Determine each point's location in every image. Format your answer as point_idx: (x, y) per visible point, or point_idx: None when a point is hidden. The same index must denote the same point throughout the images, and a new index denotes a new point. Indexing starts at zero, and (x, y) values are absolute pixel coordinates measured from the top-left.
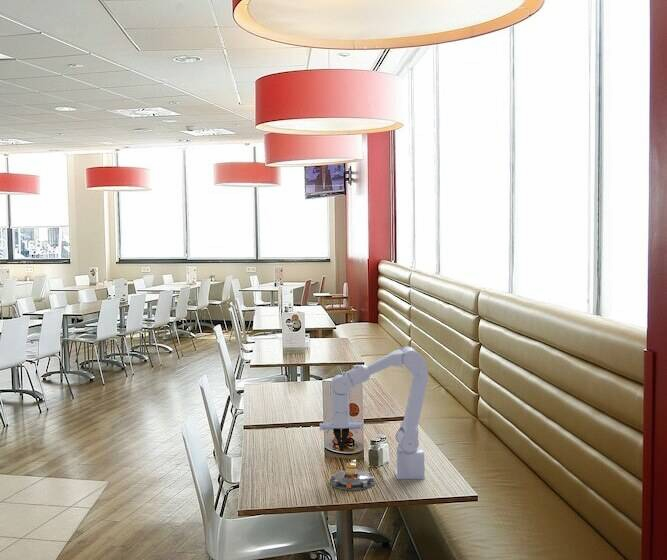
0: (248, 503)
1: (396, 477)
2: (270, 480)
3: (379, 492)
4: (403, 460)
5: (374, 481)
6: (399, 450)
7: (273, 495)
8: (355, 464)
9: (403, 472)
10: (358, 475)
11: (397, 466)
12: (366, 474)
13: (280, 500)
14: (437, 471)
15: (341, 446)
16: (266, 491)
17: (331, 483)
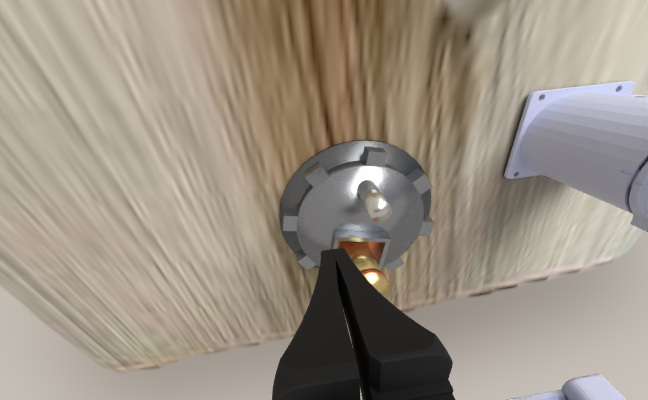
0: (101, 354)
1: (507, 164)
2: (40, 216)
3: (424, 267)
4: (595, 197)
5: (426, 211)
6: (639, 207)
7: (138, 313)
8: (387, 295)
9: (545, 175)
10: (383, 255)
11: (550, 159)
12: (411, 208)
13: (175, 332)
14: None
15: (336, 265)
16: (98, 295)
17: (288, 238)
